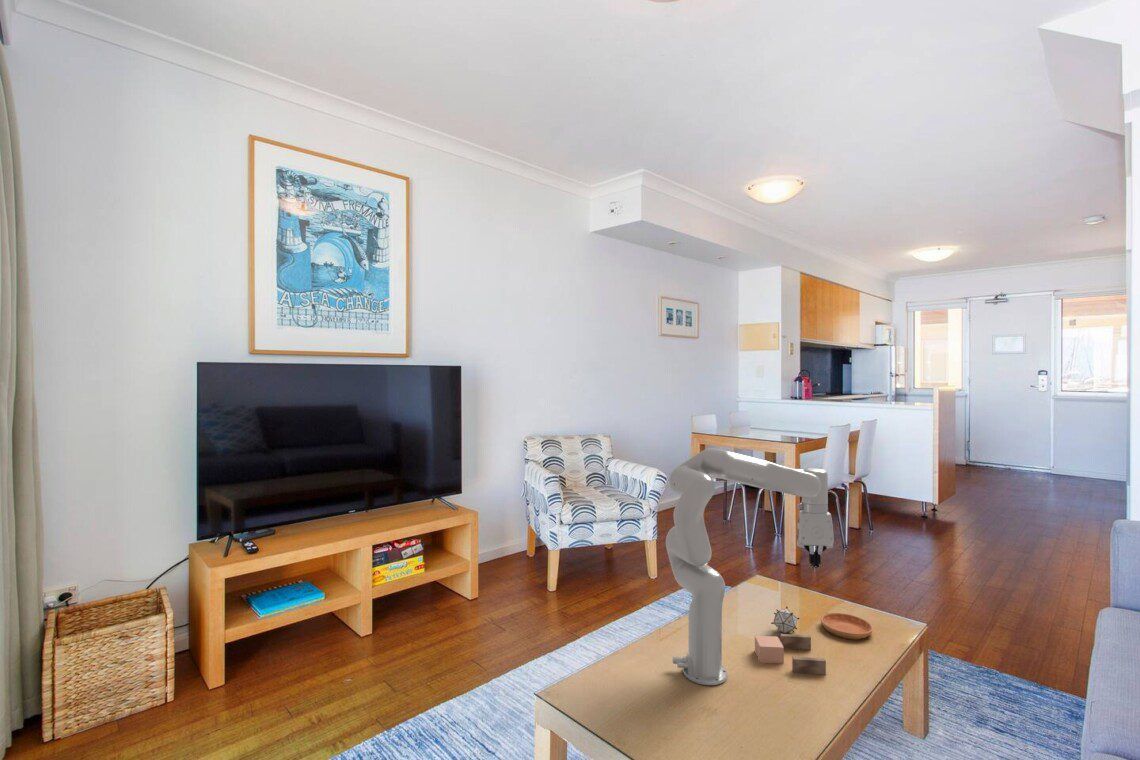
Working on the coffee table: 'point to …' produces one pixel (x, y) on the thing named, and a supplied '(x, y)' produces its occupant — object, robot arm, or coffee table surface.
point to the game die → (785, 620)
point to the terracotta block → (769, 649)
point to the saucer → (846, 625)
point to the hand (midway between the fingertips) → (814, 565)
